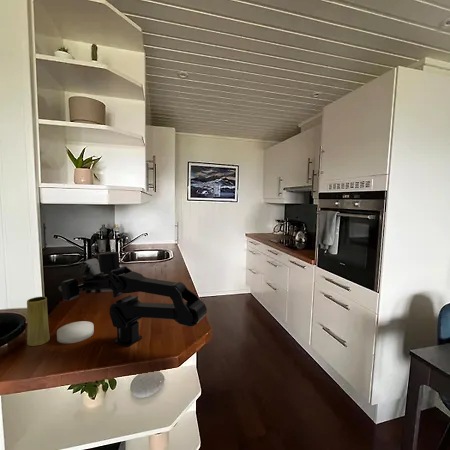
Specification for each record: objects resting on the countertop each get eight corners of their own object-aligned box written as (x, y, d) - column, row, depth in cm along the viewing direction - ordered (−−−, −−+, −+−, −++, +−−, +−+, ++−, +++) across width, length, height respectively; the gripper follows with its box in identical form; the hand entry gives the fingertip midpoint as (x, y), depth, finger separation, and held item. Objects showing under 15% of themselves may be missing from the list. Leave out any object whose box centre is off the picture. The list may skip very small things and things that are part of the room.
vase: (25, 341, 87) (23, 299, 86) (47, 335, 91) (46, 294, 90) (29, 348, 82) (26, 304, 81) (52, 341, 87) (50, 299, 86)
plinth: (100, 331, 94) (100, 324, 94) (71, 346, 84) (71, 338, 84) (79, 325, 98) (79, 319, 98) (49, 339, 88) (49, 331, 88)
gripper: (120, 254, 98) (89, 257, 104) (77, 265, 81) (42, 267, 86) (124, 284, 99) (92, 285, 104) (82, 301, 81) (46, 301, 86)
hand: (70, 284), depth 95 cm, fingers open, 9 cm apart
